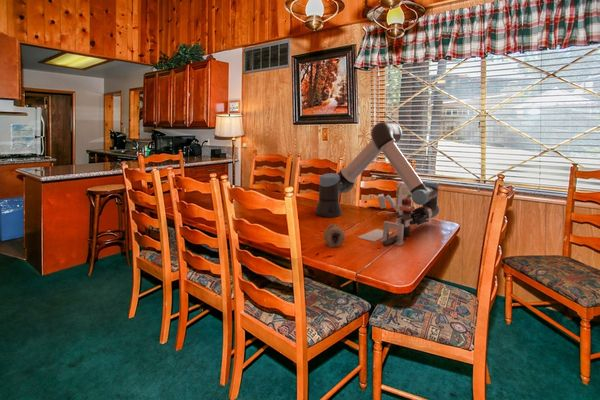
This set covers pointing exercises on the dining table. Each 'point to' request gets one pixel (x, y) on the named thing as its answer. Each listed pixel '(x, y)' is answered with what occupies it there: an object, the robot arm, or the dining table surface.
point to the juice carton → (403, 197)
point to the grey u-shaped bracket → (399, 232)
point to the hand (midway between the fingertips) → (401, 223)
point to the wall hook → (382, 201)
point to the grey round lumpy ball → (334, 236)
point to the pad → (373, 235)
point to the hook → (405, 216)
